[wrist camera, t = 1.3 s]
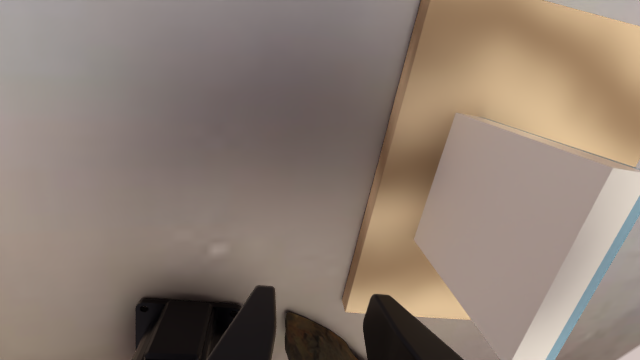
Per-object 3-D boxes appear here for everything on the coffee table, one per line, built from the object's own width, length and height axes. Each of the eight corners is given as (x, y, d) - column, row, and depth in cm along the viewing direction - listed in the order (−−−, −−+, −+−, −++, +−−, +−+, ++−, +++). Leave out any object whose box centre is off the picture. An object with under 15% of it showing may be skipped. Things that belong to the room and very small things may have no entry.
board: (536, 312, 26) (548, 324, 25) (341, 299, 23) (345, 312, 22) (678, 44, 19) (703, 43, 18) (427, -24, 16) (438, -28, 15)
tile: (439, 242, 21) (548, 370, 13) (413, 239, 20) (507, 369, 12) (485, 117, 18) (662, 176, 10) (455, 112, 18) (613, 167, 9)
